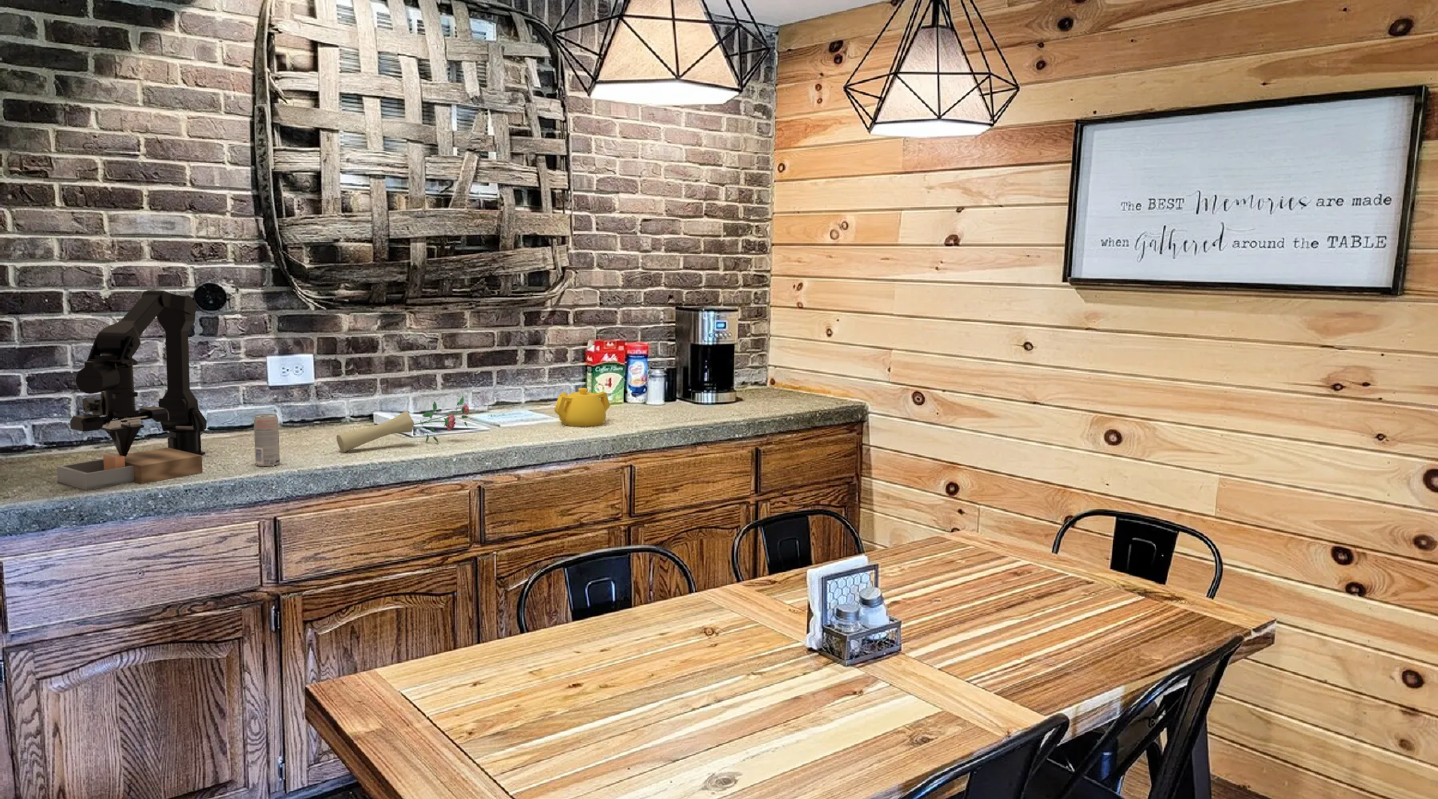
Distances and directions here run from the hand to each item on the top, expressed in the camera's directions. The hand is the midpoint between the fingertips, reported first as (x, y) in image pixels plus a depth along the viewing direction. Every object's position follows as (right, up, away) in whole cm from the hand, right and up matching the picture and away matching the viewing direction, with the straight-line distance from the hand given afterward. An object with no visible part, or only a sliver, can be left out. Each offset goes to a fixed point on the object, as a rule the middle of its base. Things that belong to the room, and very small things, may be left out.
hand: (123, 456), depth 224 cm
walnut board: (+3, -4, +7) cm, 9 cm away
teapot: (+89, +5, +87) cm, 125 cm away
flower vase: (+49, 0, +45) cm, 67 cm away
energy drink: (+24, -3, +19) cm, 31 cm away
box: (-5, -5, -2) cm, 7 cm away
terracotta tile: (-1, -2, 0) cm, 2 cm away
